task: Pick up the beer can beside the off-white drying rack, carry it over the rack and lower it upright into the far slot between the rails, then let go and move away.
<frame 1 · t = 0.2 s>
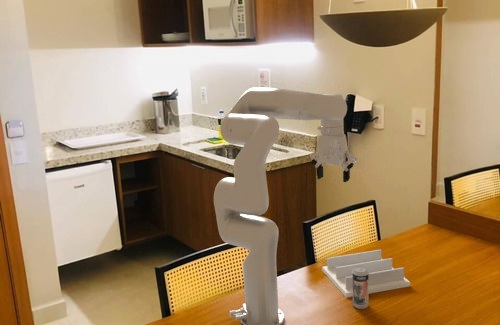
hand: (333, 179, 179), 31 cm above the table, tool pointing down, fingers open, 9 cm apart
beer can: (360, 306, 156), on the table
drying rack: (364, 278, 173), on the table
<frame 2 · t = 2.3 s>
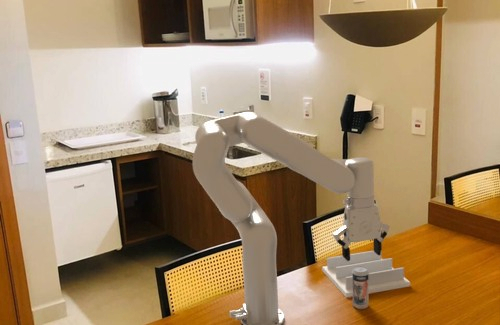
hand: (362, 256, 153), 16 cm above the table, tool pointing down, fingers open, 9 cm apart
nothing on the table moved.
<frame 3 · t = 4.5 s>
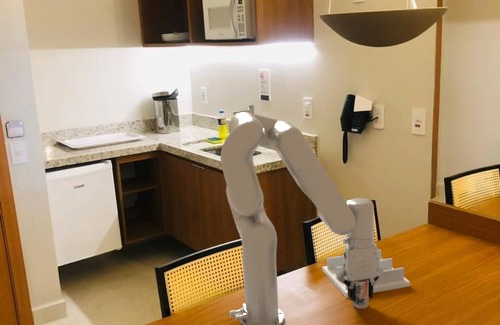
hand: (360, 296, 156), 3 cm above the table, tool pointing down, fingers closed on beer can, 4 cm apart
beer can: (360, 306, 156), on the table, touching gripper
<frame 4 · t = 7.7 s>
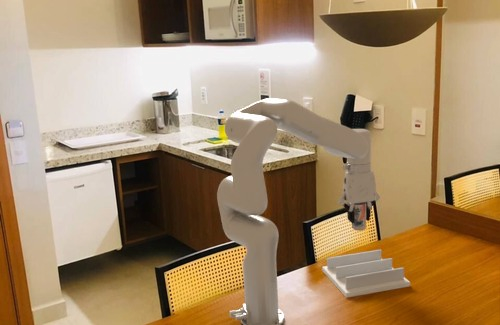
hand: (359, 220, 172), 19 cm above the table, tool pointing down, fingers closed on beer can, 4 cm apart
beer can: (359, 229, 173), point 16 cm above the table, touching gripper
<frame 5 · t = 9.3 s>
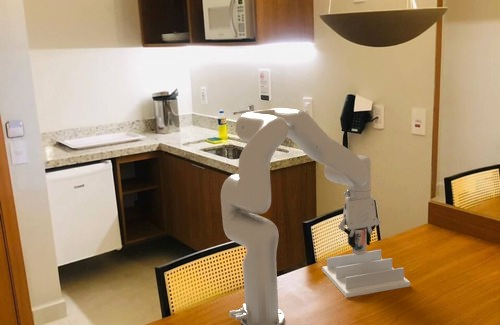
hand: (359, 244, 174), 10 cm above the table, tool pointing down, fingers closed on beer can, 4 cm apart
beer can: (359, 253, 175), point 7 cm above the table, touching gripper
when the fingers open (6 cm above the table, at t = 10.9 s): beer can drops 2 cm, resting on drying rack.
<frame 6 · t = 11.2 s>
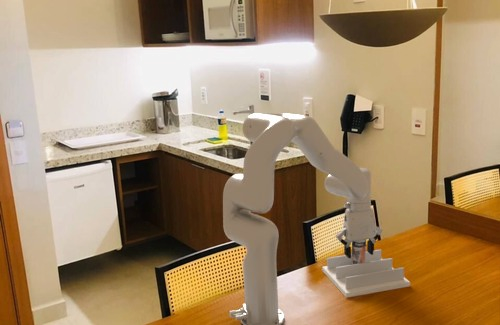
hand: (359, 254, 175), 7 cm above the table, tool pointing down, fingers open, 7 cm apart
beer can: (358, 270, 176), point 1 cm above the table, touching drying rack
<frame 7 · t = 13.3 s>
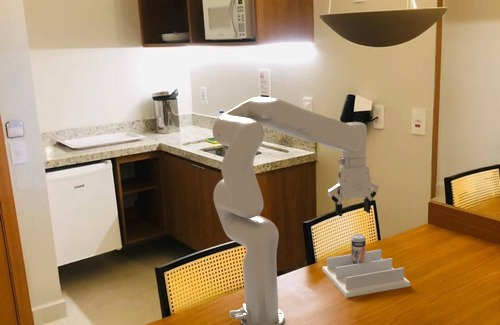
hand: (353, 213, 168), 23 cm above the table, tool pointing down, fingers open, 9 cm apart
nothing on the table moved.
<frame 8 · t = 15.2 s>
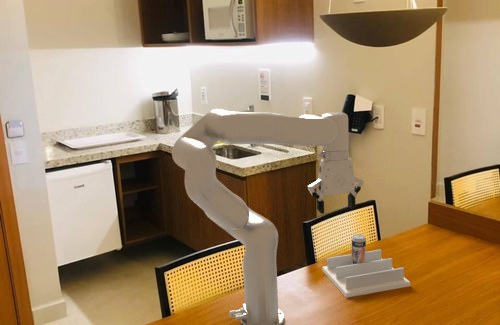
hand: (336, 210, 156), 28 cm above the table, tool pointing down, fingers open, 9 cm apart
nothing on the table moved.
at the end: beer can inside the target area on the drying rack (0.3 cm from its centre), point 1.3 cm above the drying rack's base; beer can tilted 1°; the gripper is holding nothing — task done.
